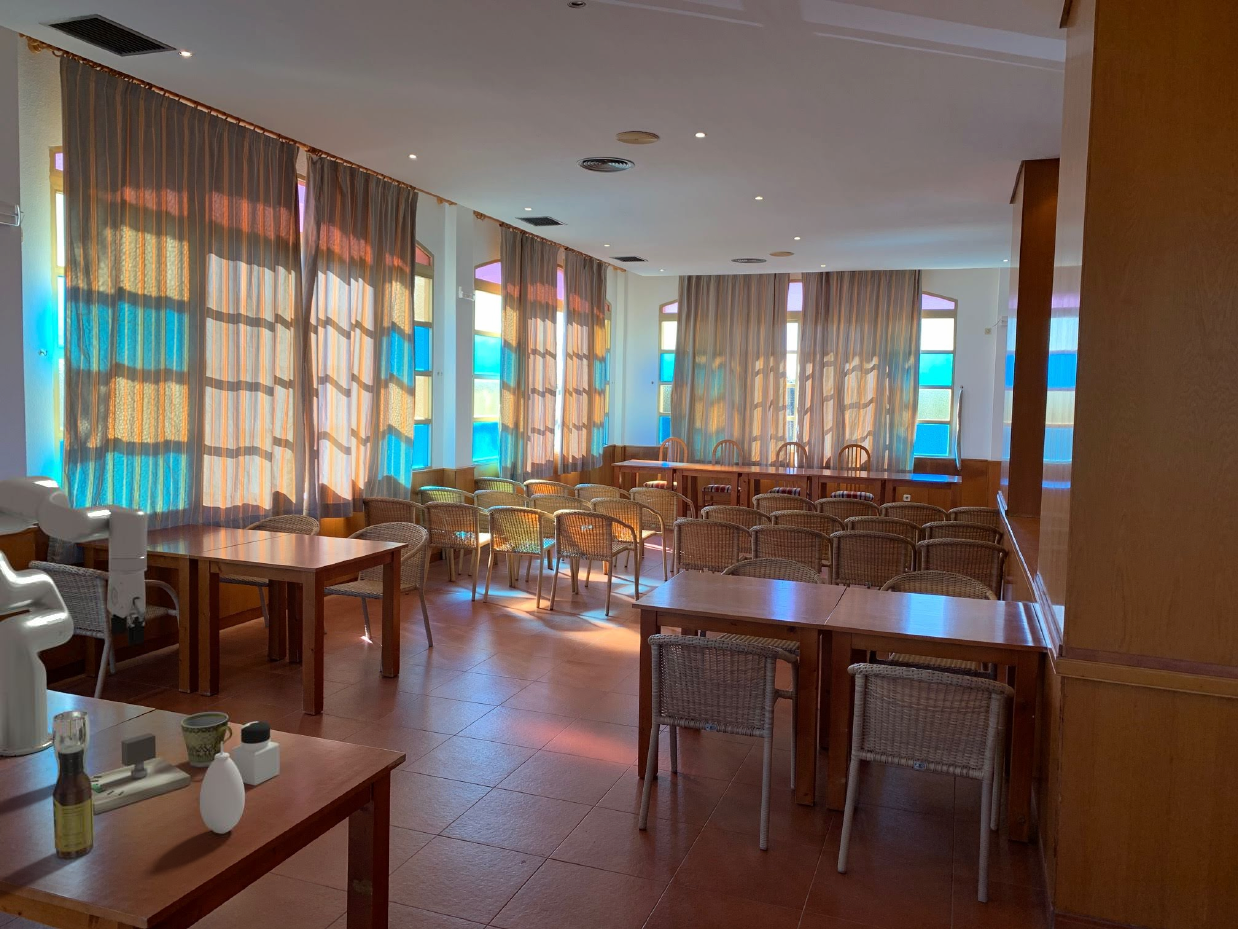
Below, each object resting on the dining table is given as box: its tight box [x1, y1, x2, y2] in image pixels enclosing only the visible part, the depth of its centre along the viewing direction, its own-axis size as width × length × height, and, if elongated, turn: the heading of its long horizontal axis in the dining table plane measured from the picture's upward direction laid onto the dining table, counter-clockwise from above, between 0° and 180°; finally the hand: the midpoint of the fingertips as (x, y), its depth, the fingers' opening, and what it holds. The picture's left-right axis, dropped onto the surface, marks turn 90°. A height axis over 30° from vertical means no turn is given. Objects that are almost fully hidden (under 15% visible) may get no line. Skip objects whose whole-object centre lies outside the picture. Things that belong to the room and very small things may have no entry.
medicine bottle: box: [231, 720, 280, 787], centre depth 201 cm, size 7×7×12 cm
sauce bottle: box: [52, 745, 95, 859], centre depth 167 cm, size 7×6×20 cm
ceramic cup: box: [180, 711, 233, 768], centre depth 208 cm, size 13×10×10 cm
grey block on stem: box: [100, 732, 157, 788], centre depth 193 cm, size 3×11×8 cm, turn 144°
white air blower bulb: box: [199, 741, 246, 835], centre depth 176 cm, size 8×8×18 cm
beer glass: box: [51, 709, 91, 783], centre depth 196 cm, size 7×7×15 cm
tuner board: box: [89, 756, 191, 815], centre depth 194 cm, size 15×19×2 cm
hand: (127, 638), depth 205 cm, fingers open, 9 cm apart
